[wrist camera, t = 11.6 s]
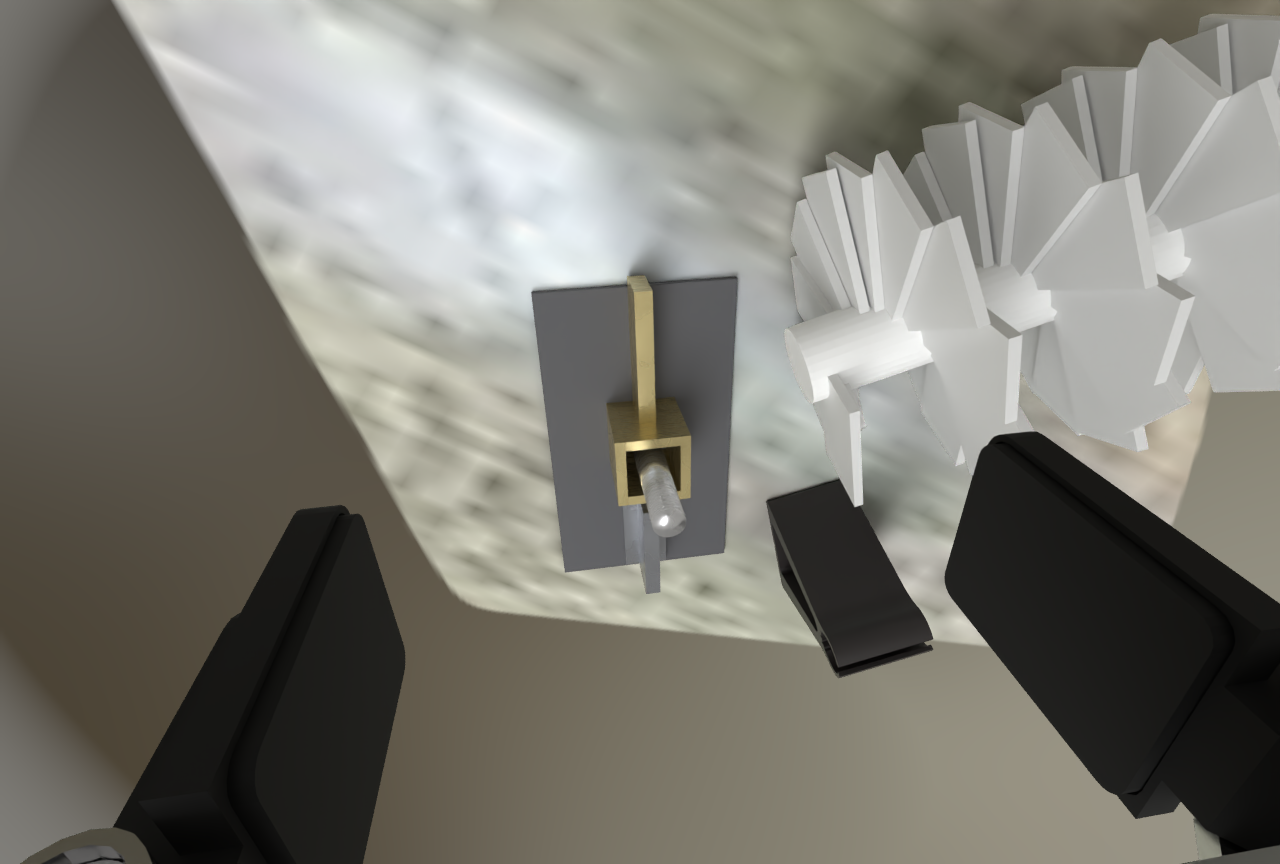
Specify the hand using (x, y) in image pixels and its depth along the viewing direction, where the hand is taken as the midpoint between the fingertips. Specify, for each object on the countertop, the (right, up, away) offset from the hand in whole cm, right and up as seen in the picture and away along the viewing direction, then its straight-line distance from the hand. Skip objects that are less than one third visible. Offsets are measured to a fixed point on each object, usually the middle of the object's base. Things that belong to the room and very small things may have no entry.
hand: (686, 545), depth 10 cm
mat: (-1, +1, +32) cm, 32 cm away
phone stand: (+12, -6, +39) cm, 41 cm away
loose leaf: (-1, +5, +29) cm, 30 cm away
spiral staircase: (+18, +14, +28) cm, 36 cm away
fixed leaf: (0, -2, +34) cm, 34 cm away
